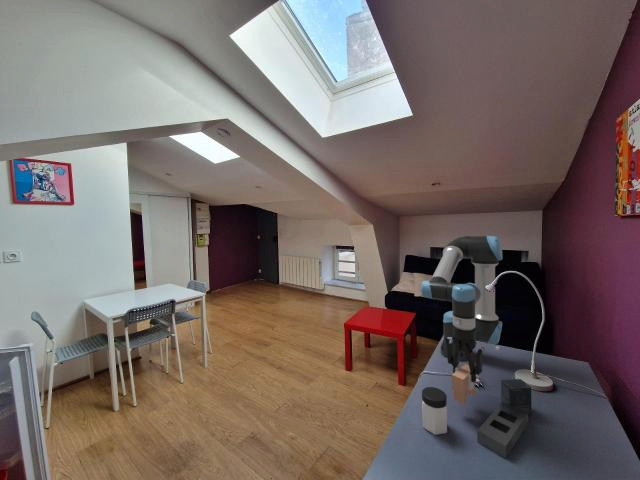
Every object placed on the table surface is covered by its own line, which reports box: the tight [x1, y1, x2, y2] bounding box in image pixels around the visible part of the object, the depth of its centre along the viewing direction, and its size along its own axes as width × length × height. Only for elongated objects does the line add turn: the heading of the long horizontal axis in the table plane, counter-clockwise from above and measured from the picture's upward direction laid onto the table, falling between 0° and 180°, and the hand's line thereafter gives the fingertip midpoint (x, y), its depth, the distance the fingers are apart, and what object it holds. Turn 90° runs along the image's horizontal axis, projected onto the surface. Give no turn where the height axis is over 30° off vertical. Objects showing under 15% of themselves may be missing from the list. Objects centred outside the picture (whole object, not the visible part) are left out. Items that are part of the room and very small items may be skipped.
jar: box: [421, 386, 448, 436], centre depth 95 cm, size 9×8×12 cm
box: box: [500, 378, 533, 415], centre depth 101 cm, size 8×6×11 cm
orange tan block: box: [451, 363, 477, 405], centre depth 101 cm, size 11×4×10 cm, turn 128°
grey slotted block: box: [476, 401, 529, 459], centre depth 91 cm, size 22×8×4 cm, turn 128°
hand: (464, 385), depth 101 cm, fingers closed on orange tan block, 4 cm apart
